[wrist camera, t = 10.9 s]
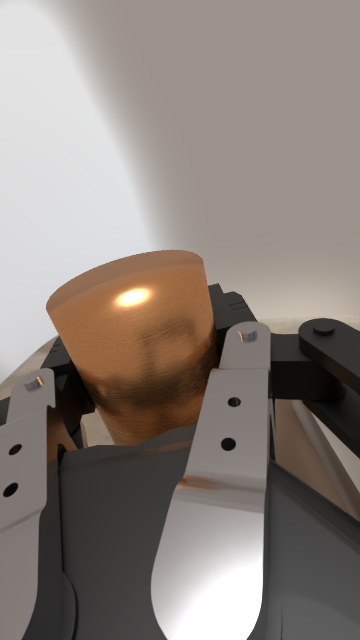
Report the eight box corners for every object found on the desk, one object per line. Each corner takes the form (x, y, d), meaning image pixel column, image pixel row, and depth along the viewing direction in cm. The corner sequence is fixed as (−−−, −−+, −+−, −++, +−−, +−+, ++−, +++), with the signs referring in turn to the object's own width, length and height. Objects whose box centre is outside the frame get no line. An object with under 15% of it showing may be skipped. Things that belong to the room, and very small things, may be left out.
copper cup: (233, 434, 16) (193, 240, 11) (259, 531, 12) (216, 291, 7) (149, 452, 16) (70, 270, 11) (146, 553, 12) (17, 338, 7)
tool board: (418, 361, 21) (427, 320, 19) (782, 649, 9) (898, 608, 7) (121, 426, 22) (105, 393, 20) (78, 762, 10) (28, 750, 8)
